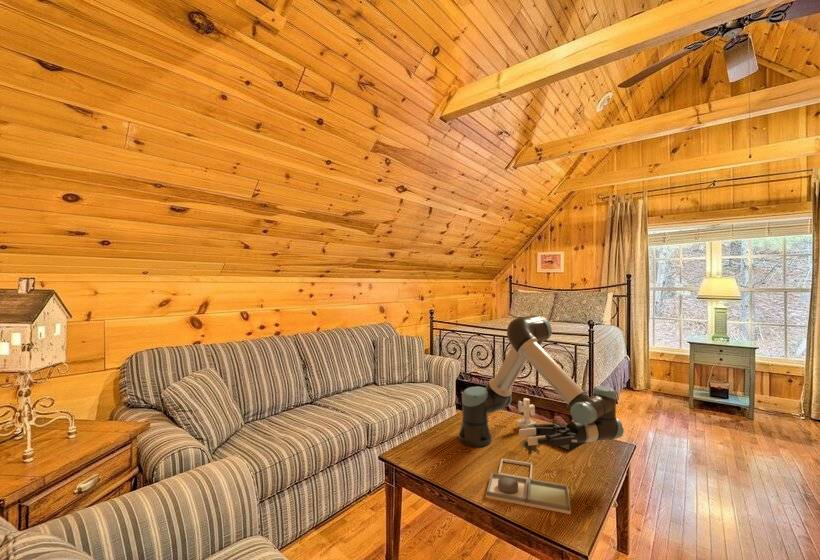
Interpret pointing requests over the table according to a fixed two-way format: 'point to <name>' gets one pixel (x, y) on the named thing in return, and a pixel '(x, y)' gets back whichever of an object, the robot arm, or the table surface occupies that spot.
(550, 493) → the tray
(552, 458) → the table surface
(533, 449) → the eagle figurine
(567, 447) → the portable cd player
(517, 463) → the white square frame
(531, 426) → the figurine
